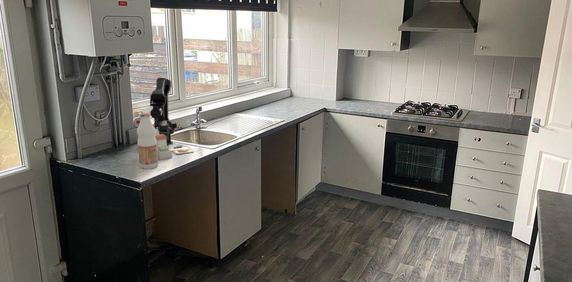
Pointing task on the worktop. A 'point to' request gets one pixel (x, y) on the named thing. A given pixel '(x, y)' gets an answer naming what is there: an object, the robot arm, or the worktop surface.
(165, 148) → the button
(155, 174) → the worktop surface
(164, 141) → the white pill bottle
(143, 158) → the fruit juice
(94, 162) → the worktop surface
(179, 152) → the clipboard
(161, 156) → the button base
